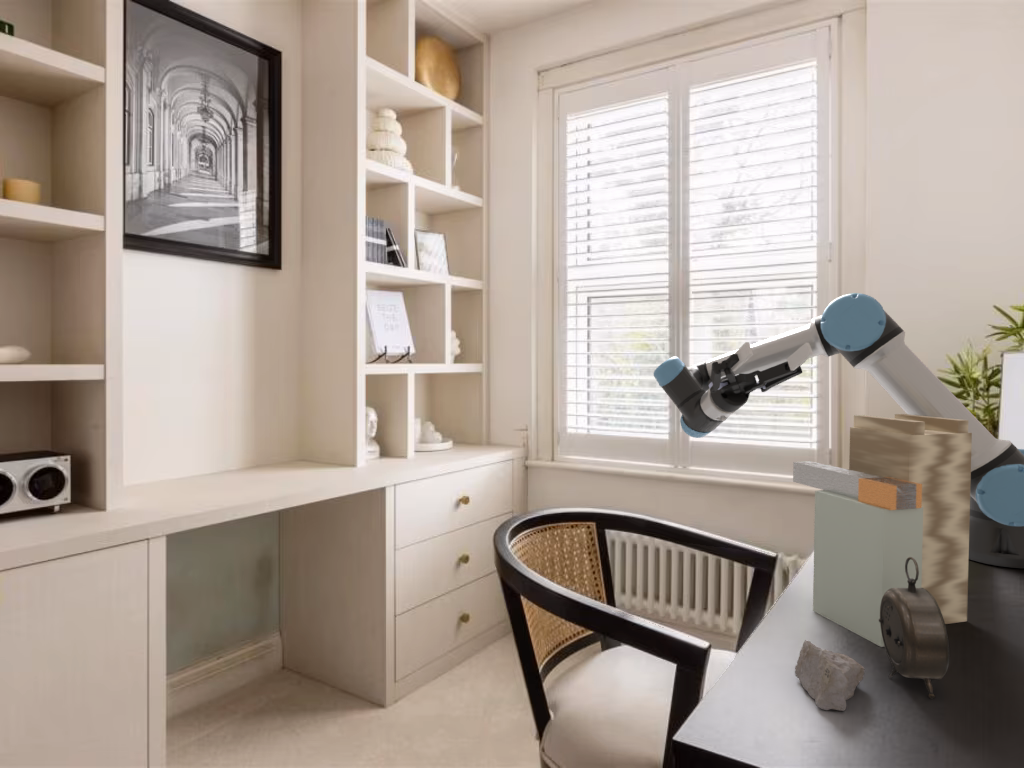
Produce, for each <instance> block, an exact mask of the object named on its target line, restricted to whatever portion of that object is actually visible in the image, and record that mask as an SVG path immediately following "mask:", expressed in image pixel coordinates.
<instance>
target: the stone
mask: <svg viewBox="0 0 1024 768" xmlns="http://www.w3.org/2000/svg"><path fill="white" fill-rule="evenodd" d="M796 663H797V664H795V667H794V668H795V669H794V675H795V677H796V678H797V679H798V681H799V683H800V684H801V685H802V687H803V689H804V690H805V691H807V693H808V696H809V697H810V698H812V699H813V700H815V702H814V703H815V706H816V707H818V708H819V709H821V710H824V711H829V710H836V711H843V712H844V711H845V710H846V708H847V701H848V700H850V699H852V698H853V697H854V695H855V690H856V687H857V686H858V685H859V684H860V682H862V680H863V679H864V676H865V667H864V666H863V665H861V664H860V663H859V662H857V661H856V660H855V659H853V658H852V657H850V656H848V655H847V654H843V653H840V652H838V653H837V652H833V651H831V650H828V649H822V648H821V647H818V646H817V645H815V644H814V643H813V642H812V641H809V640H806V639H805V640H804V641H803V643H802V647H801V649H800V651H799V656H798V658H797V661H796Z"/></svg>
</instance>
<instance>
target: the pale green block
mask: <svg viewBox="0 0 1024 768" xmlns="http://www.w3.org/2000/svg"><path fill="white" fill-rule="evenodd" d="M813 521H814V522H813V523H814V524H813V526H814V529H813V530H814V533H813V536H814V537H813V538H814V539H813V585H812V586H813V588H812V590H813V595H812V598H813V599H812V602H813V603H812V611H813V612H814V613H816V614H819V616H822V617H823V618H826V619H828V620H829V621H831V622H834V623H835V624H837V625H839V626H841V627H843V628H845V629H846V630H848V631H850V632H852V633H854V634H855V635H858V636H860V637H862V638H863V639H866V640H867V641H869V642H871V643H872V644H875V645H876V646H879V647H880V648H885V646H884V642H883V638H882V633H881V626H880V622H879V619H880V605H881V600H882V597H883V595H884V594H885V592H886V591H887V590H889V589H891V588H908V582H907V580H908V578H907V576H906V572H905V563H906V560H907V558H908V557H913V558H914V559H915V560H916V562H917V564H918V568H919V576H918V580H917V581H916V584H915V587H916V588H921V583H922V540H923V507H922V508H914V509H901V510H888V509H884V508H880V507H877V506H873V505H870V504H866V503H862V502H859V501H858V499H855V498H851V497H847V496H844V495H840V494H836V493H833V492H829V491H825V490H822V489H819V490H814V520H813ZM907 569H908V574H909V578H913V579H915V578H916V568H915V564H914V562H913V560H911V559H910V560H909V562H908V566H907Z"/></svg>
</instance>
